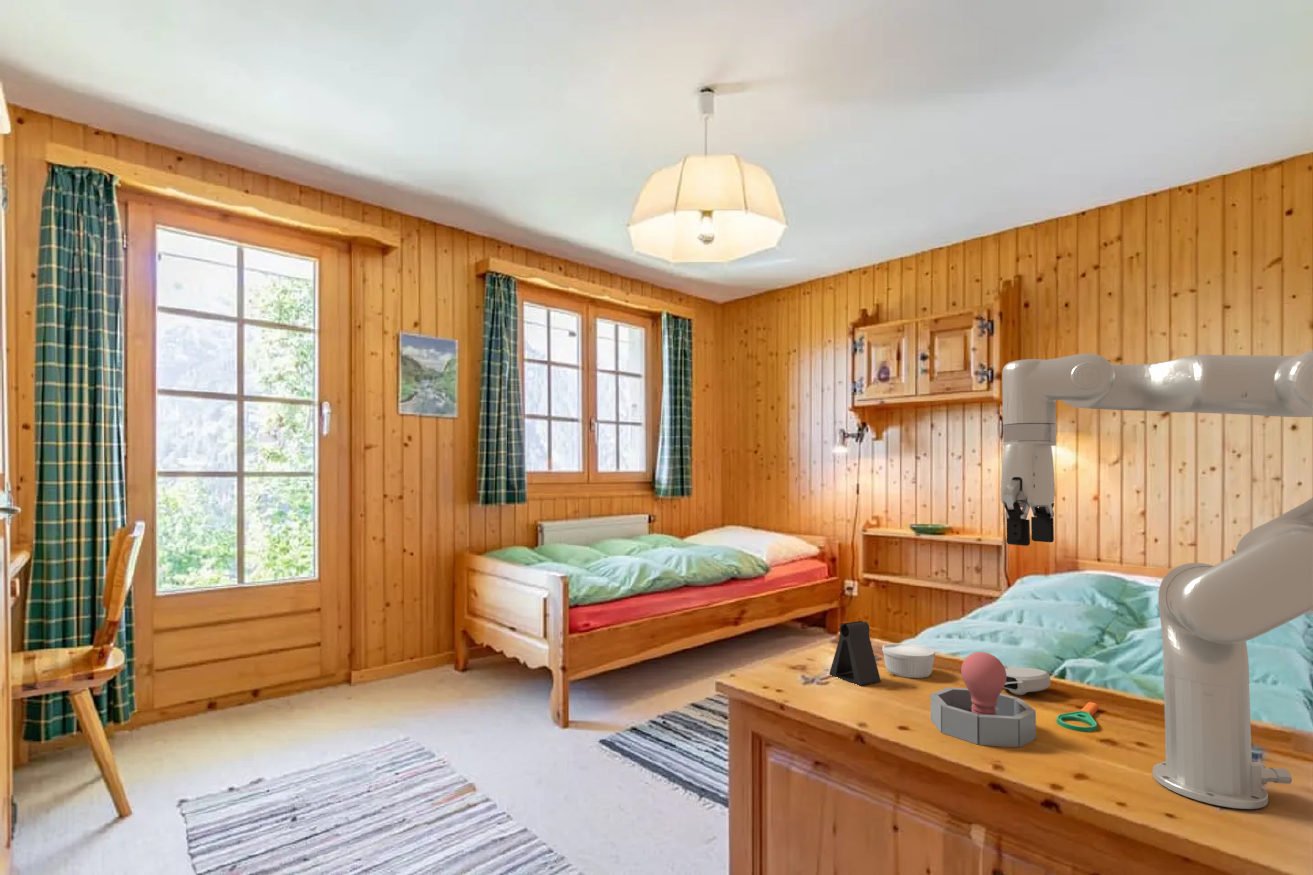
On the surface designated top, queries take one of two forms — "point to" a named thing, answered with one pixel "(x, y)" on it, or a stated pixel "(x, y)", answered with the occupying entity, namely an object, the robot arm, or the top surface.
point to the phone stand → (855, 655)
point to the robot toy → (1026, 680)
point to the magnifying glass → (1080, 718)
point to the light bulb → (983, 681)
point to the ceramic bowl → (983, 719)
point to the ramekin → (908, 660)
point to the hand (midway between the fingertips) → (1030, 543)
